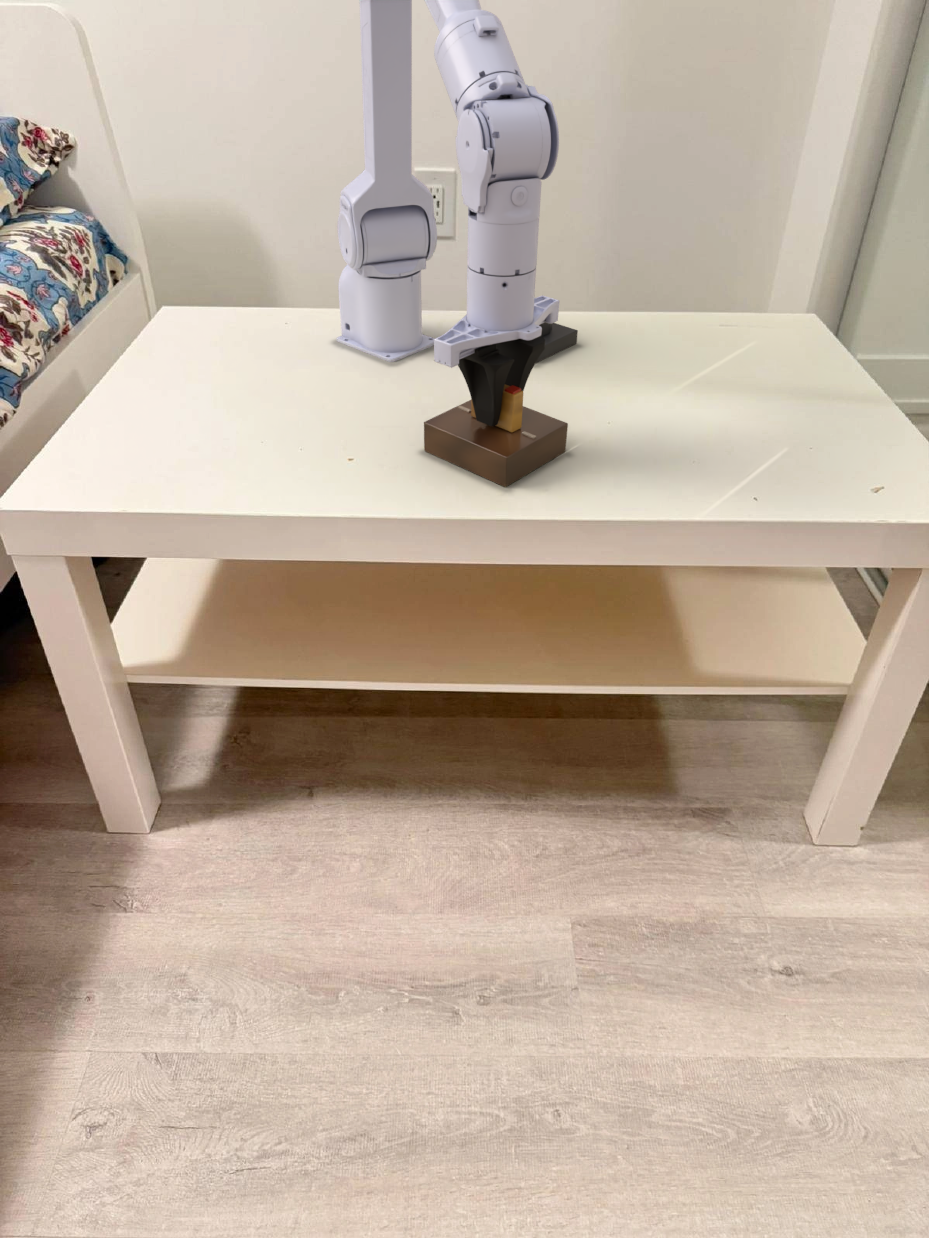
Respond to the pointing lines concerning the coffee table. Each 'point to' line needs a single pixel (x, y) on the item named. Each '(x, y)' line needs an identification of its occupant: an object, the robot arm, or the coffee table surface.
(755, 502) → the coffee table surface
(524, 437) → the plate
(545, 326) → the push button base
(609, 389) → the coffee table surface
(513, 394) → the block
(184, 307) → the coffee table surface
